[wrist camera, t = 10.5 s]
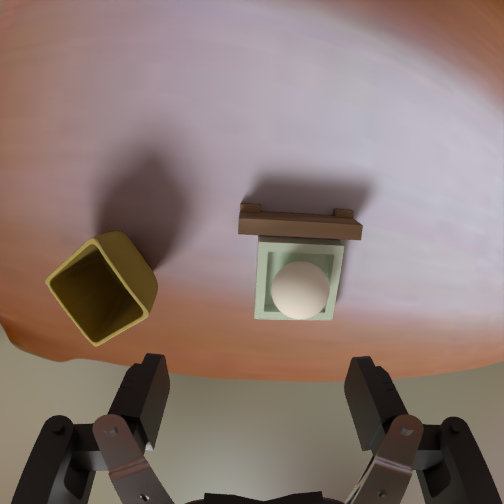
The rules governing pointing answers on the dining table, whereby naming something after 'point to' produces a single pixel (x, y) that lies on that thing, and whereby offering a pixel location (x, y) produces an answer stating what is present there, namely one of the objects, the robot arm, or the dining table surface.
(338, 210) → the rail
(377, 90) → the dining table surface
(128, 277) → the flower pot
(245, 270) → the dining table surface
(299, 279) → the ball
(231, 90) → the dining table surface
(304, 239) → the dish
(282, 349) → the dining table surface
